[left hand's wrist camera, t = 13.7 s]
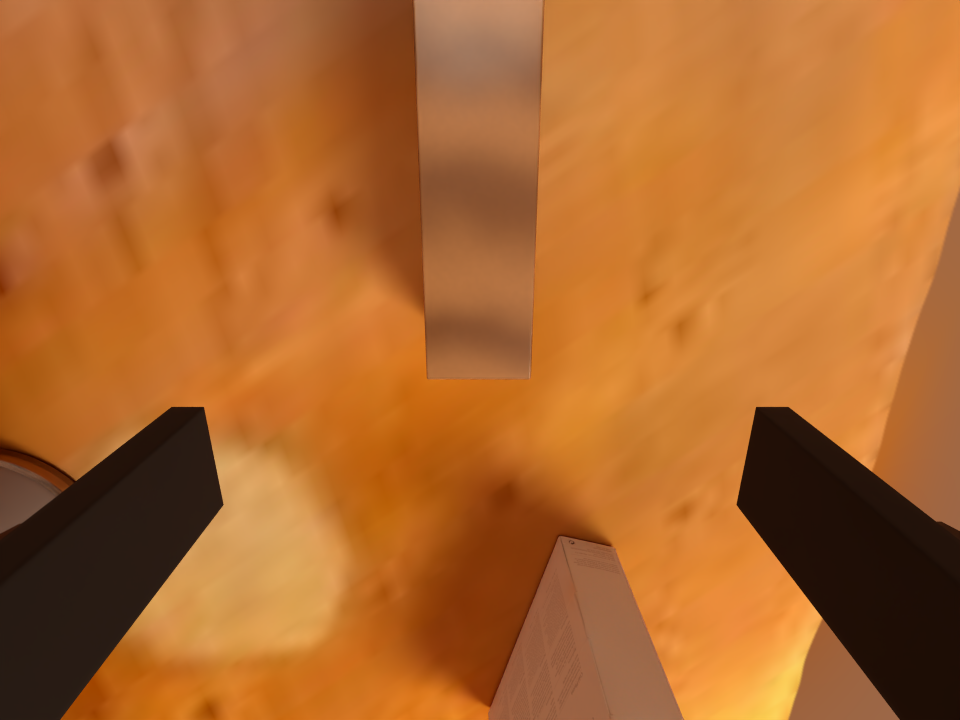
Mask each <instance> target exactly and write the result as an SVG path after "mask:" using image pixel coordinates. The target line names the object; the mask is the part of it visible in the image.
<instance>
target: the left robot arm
mask: <svg viewBox="0 0 960 720" xmlns="http://www.w3.org/2000/svg"><path fill="white" fill-rule="evenodd" d="M222 506H223V500H222V495H221V490H220V485H219V480H218V475H217V470H216V465H215V460H214V455H213V450H212V445H211V440H210V435H209V430H208V425H207V420H206V415H205V410H204V407H171V408H170V409H168V410H167V411H166V412H165V413H163V414H162V415H161V416H159V417H158V418H157V419H156V420H154V421H153V422H152V423H150V424H149V425H148V426H147V427H145V428H144V429H143V430H141V431H140V432H139V433H138V434H136V435H135V436H134V437H132V438H131V439H130V440H129V441H127V442H126V443H125V444H123V445H122V446H121V447H120V448H118V449H117V450H116V451H114V452H113V453H112V454H111V455H109V456H108V457H107V458H105V459H104V460H103V461H101V462H100V463H99V464H98V465H96V466H95V467H94V468H92V469H91V470H90V471H89V472H87V473H86V474H85V475H83V476H82V477H81V478H80V479H78V480H77V481H76V482H73V481H72V480H70V479H69V478H68V477H66V476H65V475H64V474H62V473H61V472H59V471H58V470H56V469H54V468H53V467H51V466H49V465H48V464H46V463H44V462H41V461H39V460H37V459H35V458H32V457H30V456H27V455H24V454H21V453H18V452H14V451H10V450H6V449H0V720H60V719H61V718H62V717H63V715H64V714H65V713H66V711H67V710H68V709H69V707H70V706H71V705H72V703H73V702H74V701H75V699H76V698H77V697H78V695H79V694H80V693H81V692H82V690H83V689H84V688H85V686H86V685H87V684H88V682H89V681H90V680H91V678H92V677H93V676H94V674H95V673H96V672H97V670H98V669H99V668H100V667H101V665H102V664H103V663H104V661H105V660H106V659H107V657H108V656H109V655H110V653H111V652H112V651H113V649H114V648H115V647H116V646H117V644H118V643H119V642H120V640H121V639H122V638H123V636H124V635H125V634H126V632H127V631H128V630H129V628H130V627H131V626H132V624H133V623H134V622H135V621H136V619H137V618H138V617H139V615H140V614H141V613H142V611H143V610H144V609H145V607H146V606H147V605H148V603H149V602H150V601H151V599H152V598H153V597H154V596H155V594H156V593H157V592H158V590H159V589H160V588H161V586H162V585H163V584H164V582H165V581H166V580H167V578H168V577H169V576H170V575H171V573H172V572H173V571H174V569H175V568H176V567H177V565H178V564H179V563H180V561H181V560H182V559H183V557H184V556H185V555H186V553H187V552H188V551H189V550H190V548H191V547H192V546H193V544H194V543H195V542H196V540H197V539H198V538H199V536H200V535H201V534H202V532H203V531H204V530H205V528H206V527H207V526H208V525H209V523H210V522H211V521H212V519H213V518H214V517H215V515H216V514H217V513H218V511H219V510H220V509H221V507H222ZM737 506H738V507H739V509H740V510H741V511H742V513H743V514H744V515H745V517H746V518H747V519H748V521H749V522H750V523H751V525H752V526H753V527H754V528H755V530H756V531H757V532H758V534H759V535H760V536H761V538H762V539H763V540H764V542H765V543H766V544H767V546H768V547H769V548H770V550H771V551H772V552H773V553H774V555H775V556H776V557H777V559H778V560H779V561H780V563H781V564H782V565H783V567H784V568H785V569H786V571H787V572H788V573H789V575H790V576H791V577H792V578H793V580H794V581H795V582H796V584H797V585H798V586H799V588H800V589H801V590H802V592H803V593H804V594H805V596H806V597H807V598H808V599H809V601H810V602H811V603H812V605H813V606H814V607H815V609H816V610H817V611H818V613H819V614H820V615H821V617H822V618H823V619H824V621H825V622H826V623H827V624H828V626H829V627H830V628H831V630H832V631H833V632H834V634H835V635H836V636H837V638H838V639H839V640H840V642H841V643H842V644H843V645H844V647H845V648H846V649H847V651H848V652H849V653H850V655H851V656H852V657H853V659H854V660H855V661H856V663H857V664H858V665H859V666H860V668H861V669H862V670H863V672H864V673H865V674H866V676H867V677H868V678H869V680H870V681H871V682H872V684H873V685H874V686H875V688H876V689H877V690H878V692H879V693H880V694H881V695H882V697H883V698H884V699H885V701H886V702H887V703H888V705H889V706H890V707H891V709H892V710H893V711H894V713H895V714H896V715H897V717H898V718H899V719H900V720H960V531H958V530H956V529H954V528H952V527H951V526H949V525H947V524H945V523H943V522H936V521H934V520H933V519H932V518H931V517H929V516H928V515H927V514H925V513H924V512H923V511H922V510H920V509H919V508H918V507H916V506H915V505H914V504H913V503H911V502H910V501H909V500H907V499H906V498H905V497H903V496H902V495H901V494H900V493H898V492H897V491H896V490H895V489H893V488H892V487H891V486H889V485H888V484H887V483H885V482H884V481H883V480H882V479H880V478H879V477H878V476H877V475H875V474H874V473H873V472H871V471H870V470H869V469H868V468H866V467H865V466H864V465H862V464H861V463H860V462H858V461H857V460H856V459H855V458H853V457H852V456H851V455H849V454H848V453H847V452H846V451H844V450H843V449H842V448H840V447H839V446H838V445H837V444H835V443H834V442H833V441H831V440H830V439H829V438H828V437H826V436H825V435H824V434H822V433H821V432H820V431H819V430H817V429H816V428H815V427H813V426H812V425H811V424H810V423H808V422H807V421H806V420H804V419H803V418H802V417H801V416H799V415H798V414H797V413H795V412H794V411H793V410H792V409H790V408H789V407H756V410H755V415H754V420H753V425H752V430H751V435H750V440H749V445H748V450H747V455H746V460H745V465H744V470H743V475H742V480H741V485H740V490H739V495H738V500H737Z"/></svg>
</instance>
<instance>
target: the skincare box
mask: <svg viewBox="0 0 960 720" xmlns="http://www.w3.org/2000/svg"><path fill="white" fill-rule="evenodd" d="M488 714H489V720H684V719H683V717H682V714H681V712H680V709H679V707H678V704H677V702H676V699H675V697H674V694H673V692H672V689H671V687H670V684H669V682H668V679H667V677H666V674H665V672H664V670H663V667H662V665H661V662H660V660H659V657H658V655H657V652H656V650H655V647H654V645H653V642H652V640H651V637H650V635H649V632H648V630H647V628H646V625H645V623H644V620H643V618H642V615H641V613H640V610H639V608H638V605H637V603H636V600H635V598H634V595H633V593H632V590H631V588H630V585H629V583H628V580H627V578H626V575H625V573H624V570H623V568H622V565H621V563H620V561H619V558H618V555H617V553H616V549H615V548H614V547H610V546H606V545H601V544H597V543H592V542H587V541H583V540H578V539H573V538H569V537H564V536H559V537H558V540H557V542H556V545H555V547H554V550H553V552H552V555H551V557H550V560H549V562H548V565H547V567H546V570H545V572H544V574H543V577H542V580H541V582H540V585H539V587H538V589H537V592H536V595H535V597H534V600H533V602H532V605H531V607H530V610H529V612H528V615H527V617H526V619H525V622H524V624H523V627H522V629H521V632H520V634H519V637H518V639H517V642H516V644H515V647H514V649H513V652H512V655H511V657H510V660H509V662H508V665H507V667H506V670H505V672H504V675H503V677H502V680H501V682H500V685H499V687H498V690H497V692H496V695H495V697H494V700H493V703H492V705H491V708H490V710H489V713H488Z"/></svg>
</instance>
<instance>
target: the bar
mask: <svg viewBox="0 0 960 720" xmlns="http://www.w3.org/2000/svg"><path fill="white" fill-rule="evenodd" d="M413 23H414V49H415V75H416V102H417V128H418V154H419V181H420V207H421V234H422V260H423V286H424V313H425V339H426V366H427V379H530V378H531V358H532V330H533V302H534V275H535V247H536V219H537V192H538V164H539V136H540V109H541V81H542V54H543V26H544V0H413Z"/></svg>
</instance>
